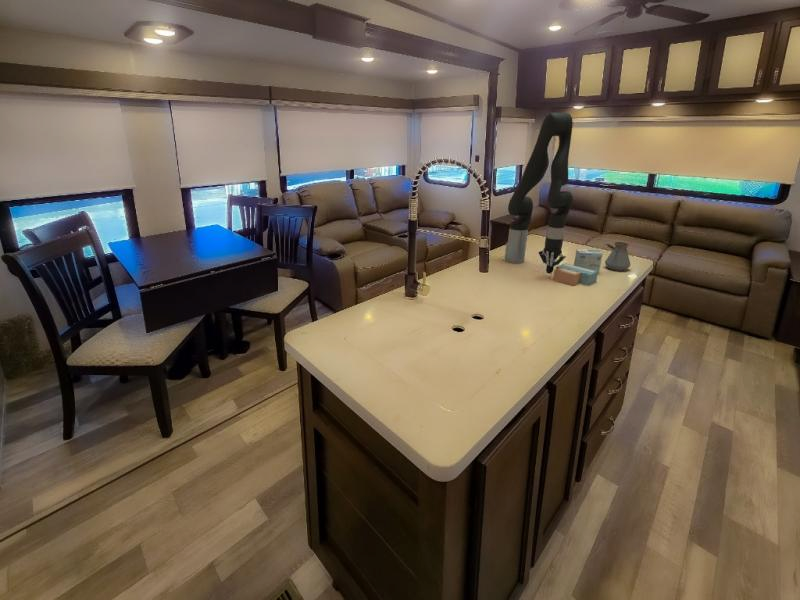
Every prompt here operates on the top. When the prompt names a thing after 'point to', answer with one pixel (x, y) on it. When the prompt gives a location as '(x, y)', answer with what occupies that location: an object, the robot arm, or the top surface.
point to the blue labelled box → (582, 273)
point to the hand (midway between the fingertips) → (549, 273)
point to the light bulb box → (588, 259)
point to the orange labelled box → (566, 276)
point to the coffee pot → (618, 257)
